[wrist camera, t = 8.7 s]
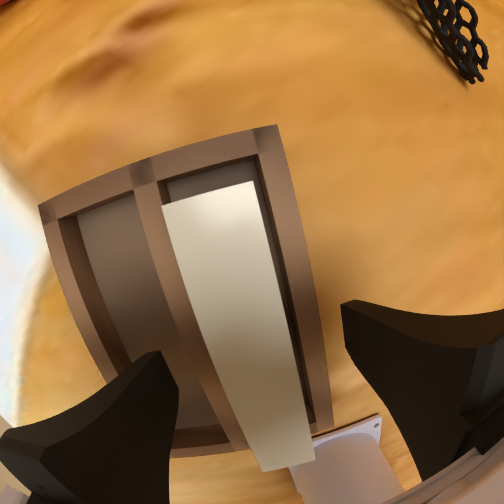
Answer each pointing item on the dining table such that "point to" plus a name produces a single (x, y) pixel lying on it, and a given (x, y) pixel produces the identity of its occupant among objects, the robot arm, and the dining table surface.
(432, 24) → the decorative element
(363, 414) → the dining table surface
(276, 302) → the clay strip
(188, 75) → the dining table surface
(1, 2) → the citrus juicer
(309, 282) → the rack
